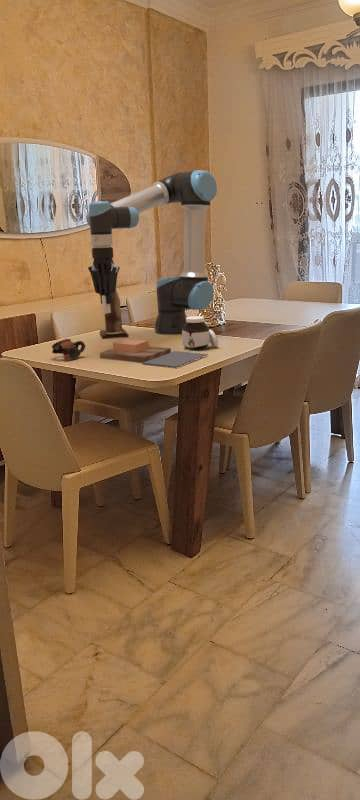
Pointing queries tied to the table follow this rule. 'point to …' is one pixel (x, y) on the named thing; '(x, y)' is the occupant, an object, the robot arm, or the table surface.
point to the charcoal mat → (174, 359)
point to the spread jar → (197, 334)
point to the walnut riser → (136, 354)
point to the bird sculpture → (113, 317)
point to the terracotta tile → (130, 345)
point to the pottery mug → (68, 349)
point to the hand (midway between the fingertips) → (106, 312)
